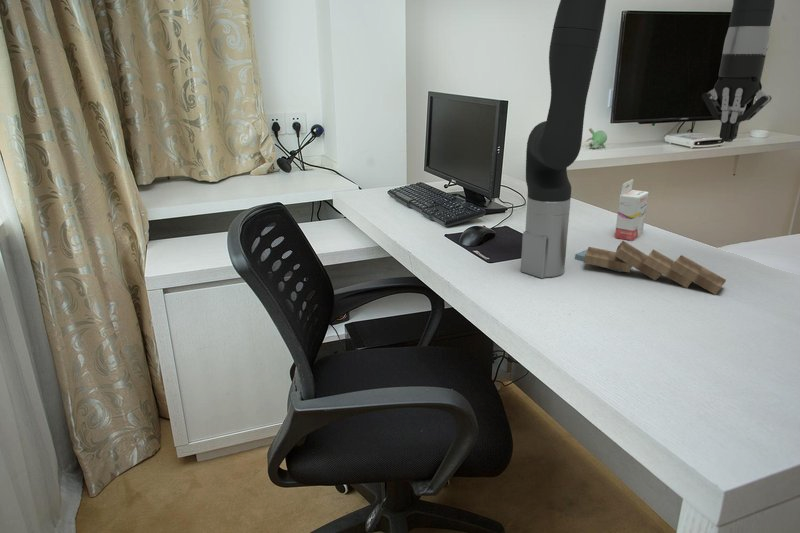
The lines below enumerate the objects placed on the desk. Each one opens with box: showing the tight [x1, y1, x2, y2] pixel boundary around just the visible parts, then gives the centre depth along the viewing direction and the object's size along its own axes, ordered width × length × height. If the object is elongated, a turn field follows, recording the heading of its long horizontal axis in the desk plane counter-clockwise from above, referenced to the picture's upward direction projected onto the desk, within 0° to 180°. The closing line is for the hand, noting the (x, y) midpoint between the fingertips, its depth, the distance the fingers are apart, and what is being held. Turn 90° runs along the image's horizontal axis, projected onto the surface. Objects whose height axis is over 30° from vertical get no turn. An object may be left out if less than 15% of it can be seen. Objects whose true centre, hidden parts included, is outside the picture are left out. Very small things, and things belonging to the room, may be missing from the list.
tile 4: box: [583, 246, 632, 273], centre depth 132 cm, size 5×2×10 cm
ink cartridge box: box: [614, 178, 650, 242], centre depth 153 cm, size 9×5×15 cm, turn 141°
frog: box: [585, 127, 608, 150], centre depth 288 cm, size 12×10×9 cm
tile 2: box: [644, 249, 692, 289], centre depth 125 cm, size 5×2×10 cm
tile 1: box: [670, 254, 727, 296], centre depth 121 cm, size 5×2×10 cm
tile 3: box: [615, 240, 662, 281], centre depth 128 cm, size 5×2×10 cm
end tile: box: [574, 248, 633, 273], centre depth 137 cm, size 5×2×12 cm
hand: (727, 141), depth 119 cm, fingers closed
